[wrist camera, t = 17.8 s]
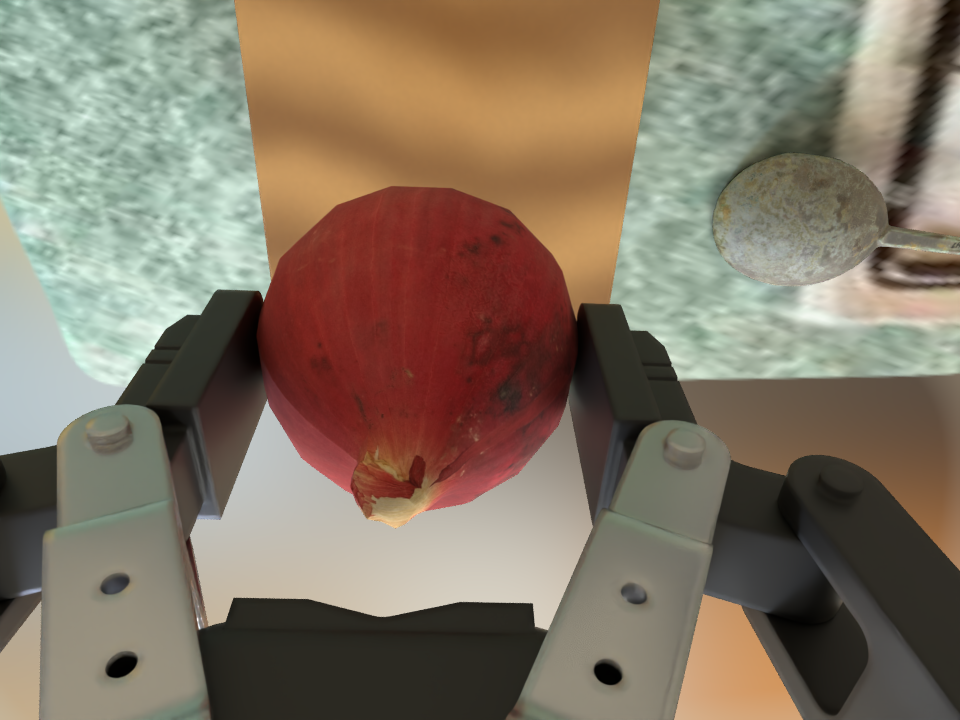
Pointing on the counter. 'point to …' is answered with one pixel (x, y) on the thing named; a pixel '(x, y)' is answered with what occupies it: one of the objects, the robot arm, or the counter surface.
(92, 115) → the counter surface
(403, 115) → the cabinet
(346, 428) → the onion
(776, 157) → the soupspoon
